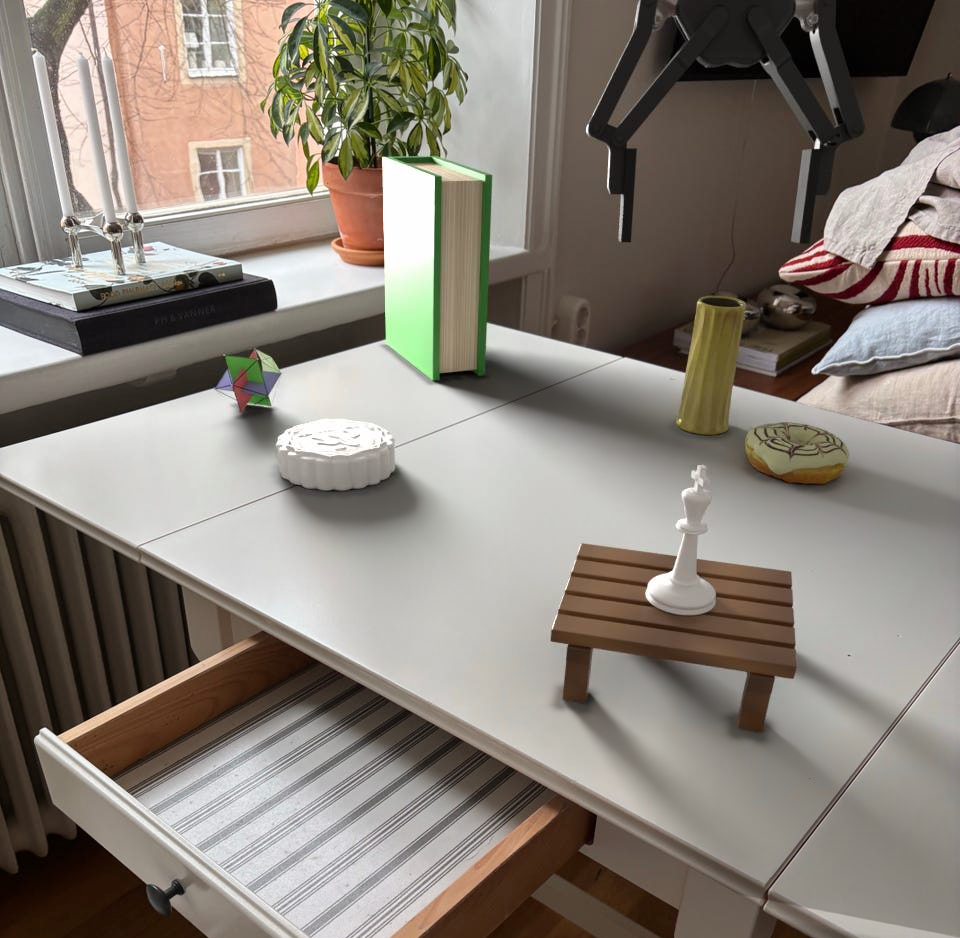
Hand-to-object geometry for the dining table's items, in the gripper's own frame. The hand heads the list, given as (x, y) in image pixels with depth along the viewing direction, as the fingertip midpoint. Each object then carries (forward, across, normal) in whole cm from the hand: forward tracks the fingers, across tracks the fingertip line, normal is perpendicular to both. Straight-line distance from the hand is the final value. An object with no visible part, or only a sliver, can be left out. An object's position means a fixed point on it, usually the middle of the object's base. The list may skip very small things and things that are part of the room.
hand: (711, 242), depth 77 cm
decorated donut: (+24, -14, -22) cm, 35 cm away
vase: (+22, -6, -33) cm, 40 cm away
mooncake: (+23, +34, -15) cm, 43 cm away
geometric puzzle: (+20, +47, -32) cm, 60 cm away
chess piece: (+23, +3, +18) cm, 29 cm away
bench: (+28, +3, +18) cm, 33 cm away
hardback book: (+18, +27, -54) cm, 63 cm away
